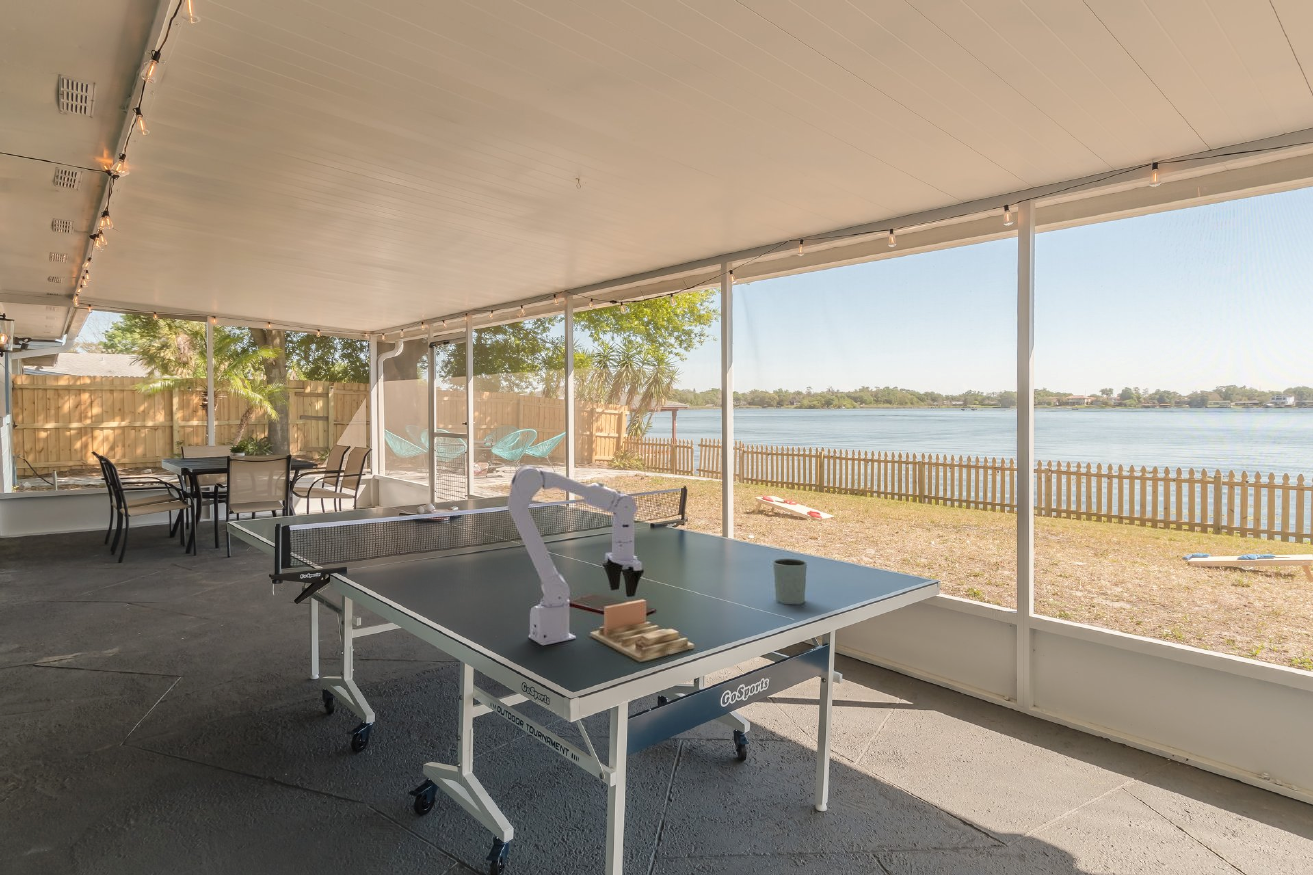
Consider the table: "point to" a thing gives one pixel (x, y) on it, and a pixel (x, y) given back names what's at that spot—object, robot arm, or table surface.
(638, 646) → the offcut lower
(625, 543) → the robot arm
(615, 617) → the upright wooden plank
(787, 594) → the green cup
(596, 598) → the dark red board
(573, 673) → the table surface
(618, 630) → the rack
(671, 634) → the offcut upper
